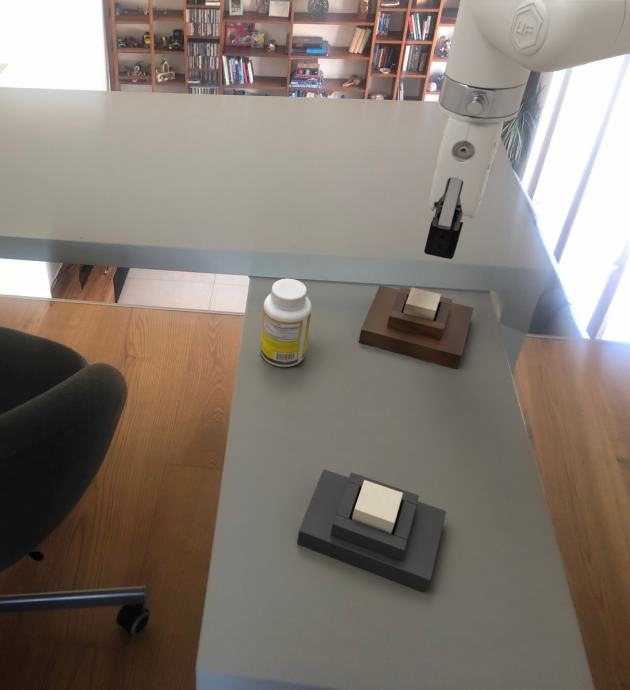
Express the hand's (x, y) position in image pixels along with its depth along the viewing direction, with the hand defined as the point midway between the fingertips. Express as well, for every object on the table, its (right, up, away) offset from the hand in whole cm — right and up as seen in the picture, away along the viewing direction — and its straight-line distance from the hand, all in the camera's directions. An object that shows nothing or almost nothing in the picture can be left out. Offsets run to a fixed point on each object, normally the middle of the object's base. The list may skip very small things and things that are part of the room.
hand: (439, 252), depth 79 cm
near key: (-12, -26, -15) cm, 32 cm away
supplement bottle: (-17, -12, +7) cm, 22 cm away
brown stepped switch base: (+1, -9, +9) cm, 13 cm away
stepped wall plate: (-12, -29, -13) cm, 34 cm away
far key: (0, -6, +7) cm, 9 cm away
